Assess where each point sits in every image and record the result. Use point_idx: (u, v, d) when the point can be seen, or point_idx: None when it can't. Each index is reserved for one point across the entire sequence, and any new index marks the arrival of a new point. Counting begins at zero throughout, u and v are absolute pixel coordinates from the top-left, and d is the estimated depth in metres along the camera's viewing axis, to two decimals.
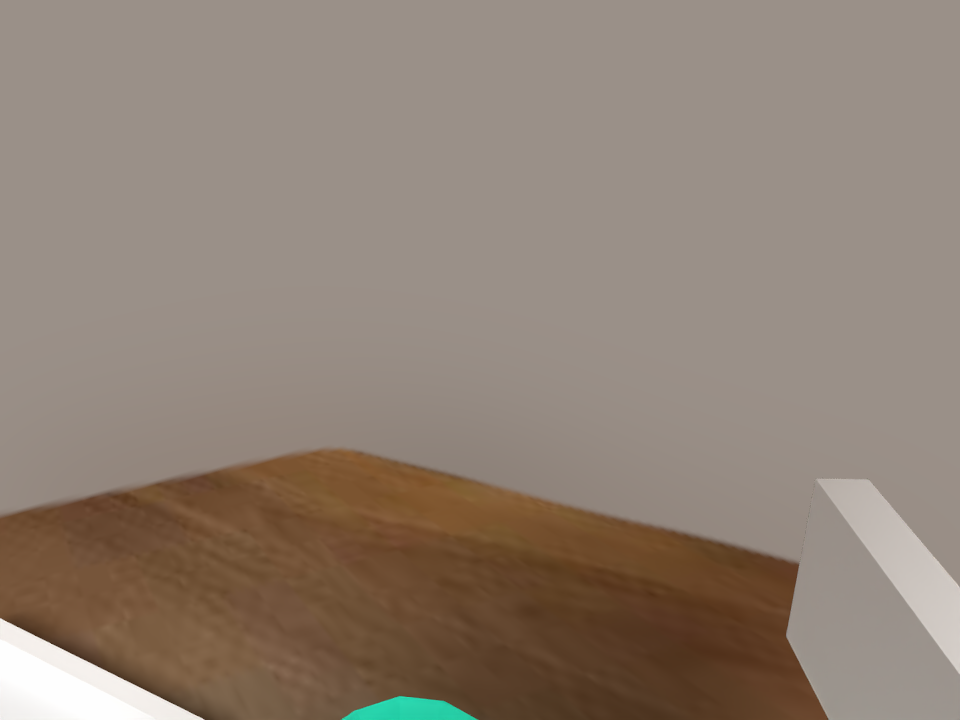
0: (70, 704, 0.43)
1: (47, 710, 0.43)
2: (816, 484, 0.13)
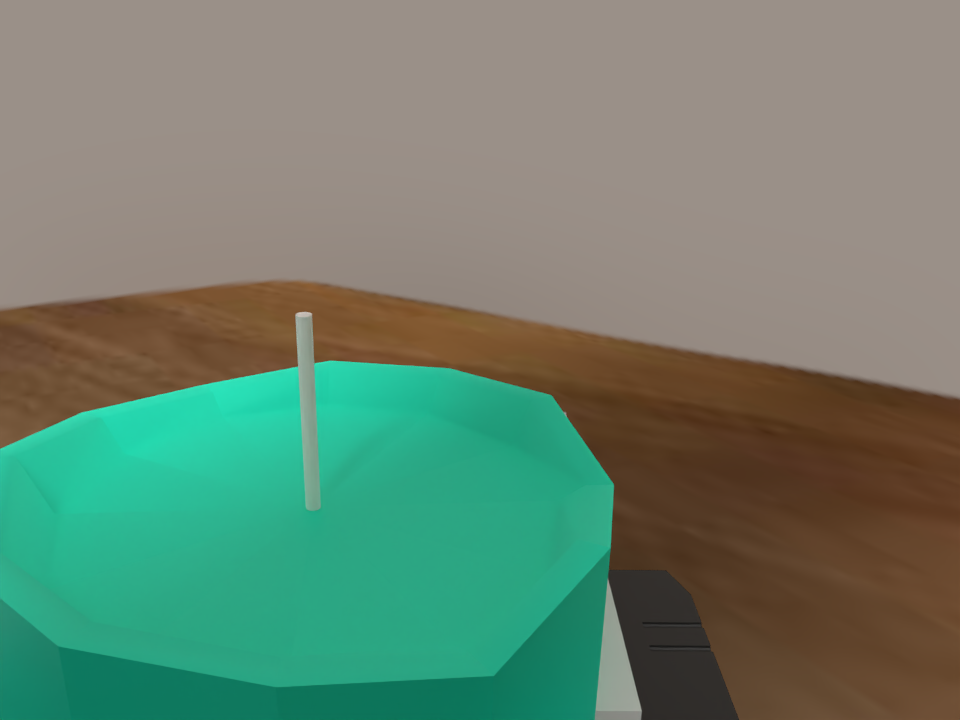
0: None
1: None
2: None
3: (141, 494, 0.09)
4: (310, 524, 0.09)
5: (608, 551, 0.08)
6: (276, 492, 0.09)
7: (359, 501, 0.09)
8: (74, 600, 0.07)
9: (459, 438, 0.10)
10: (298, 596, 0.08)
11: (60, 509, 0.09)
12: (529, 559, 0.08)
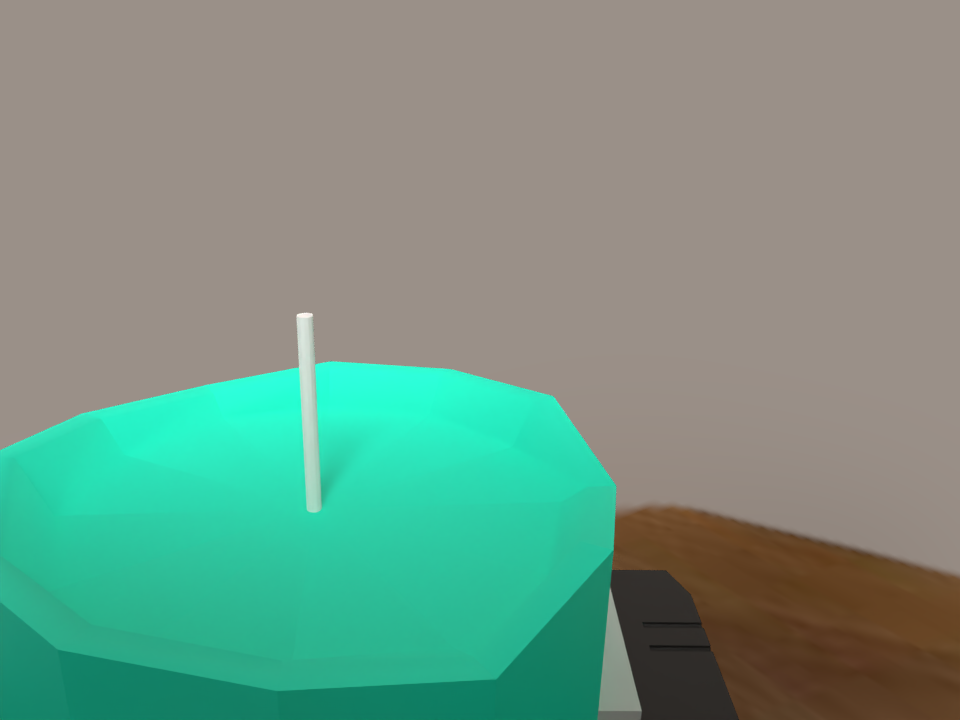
0: None
1: None
2: None
3: (141, 494, 0.09)
4: (311, 527, 0.09)
5: (611, 553, 0.08)
6: (277, 494, 0.09)
7: (360, 503, 0.09)
8: (74, 603, 0.07)
9: (461, 439, 0.10)
10: (299, 599, 0.08)
11: (60, 511, 0.09)
12: (532, 562, 0.08)
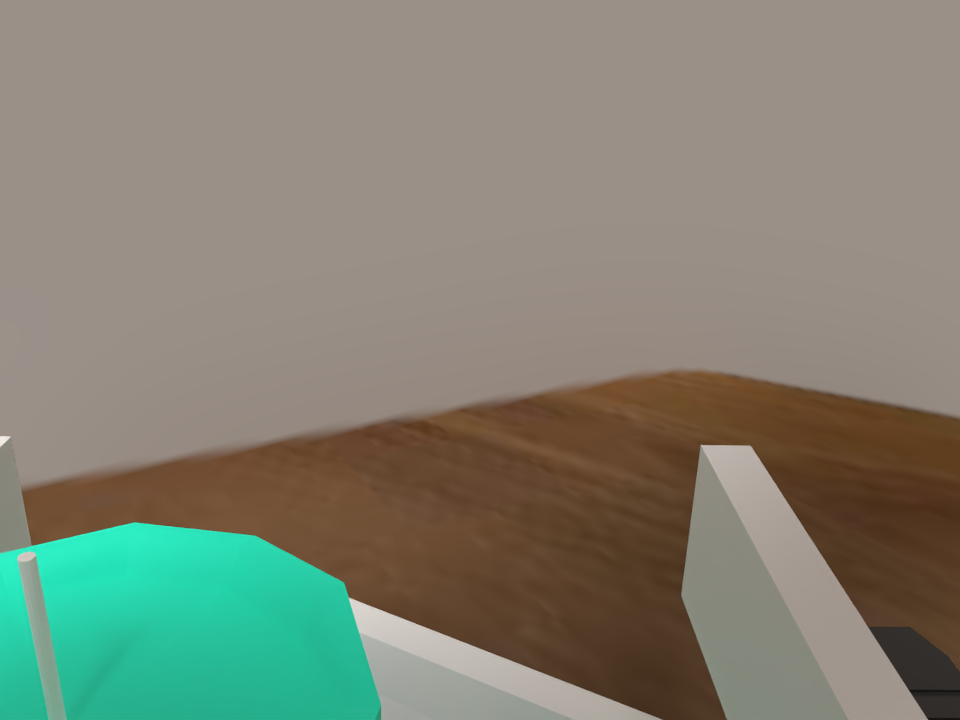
0: None
1: None
2: (701, 450, 0.13)
3: None
4: None
5: None
6: (28, 710, 0.09)
7: None
8: None
9: (248, 627, 0.10)
10: None
11: None
12: None
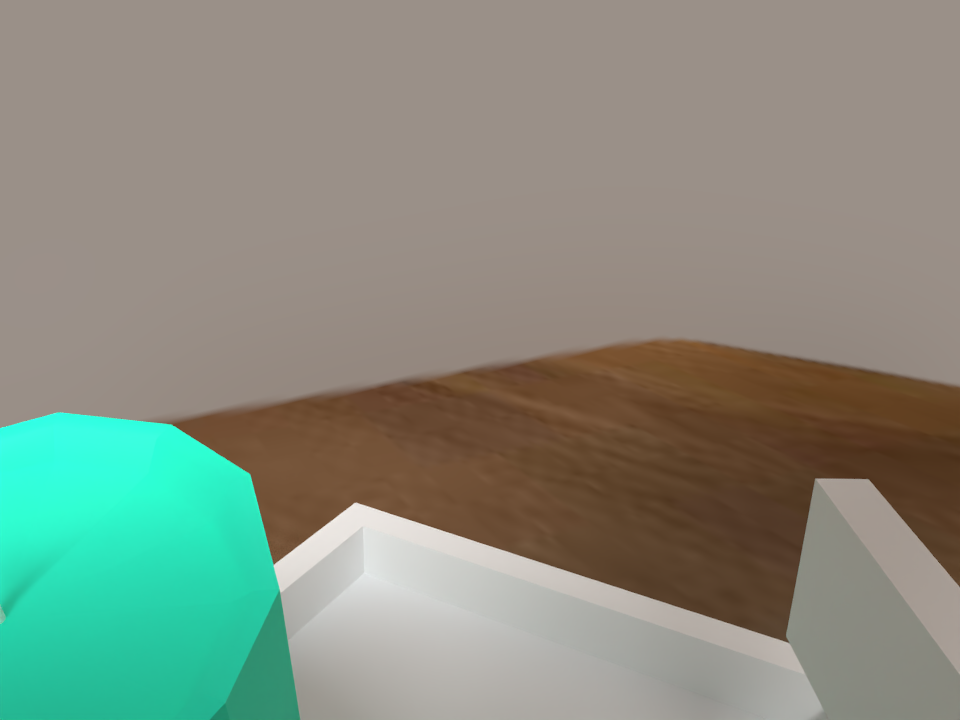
0: (573, 654, 0.25)
1: (540, 662, 0.25)
2: (816, 484, 0.13)
3: None
4: None
5: (223, 706, 0.09)
6: None
7: (43, 611, 0.10)
8: None
9: (166, 513, 0.11)
10: None
11: None
12: (176, 688, 0.09)
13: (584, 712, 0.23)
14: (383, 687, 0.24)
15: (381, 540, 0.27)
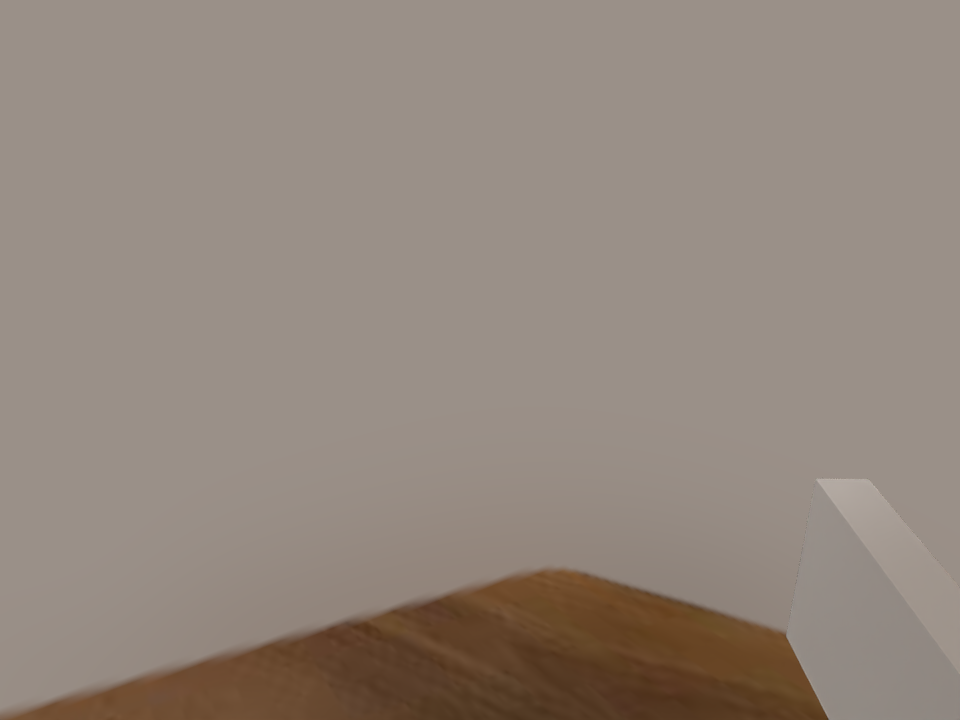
0: None
1: None
2: (816, 484, 0.13)
3: None
4: None
5: None
6: None
7: None
8: None
9: None
10: None
11: None
12: None
13: None
14: None
15: None
